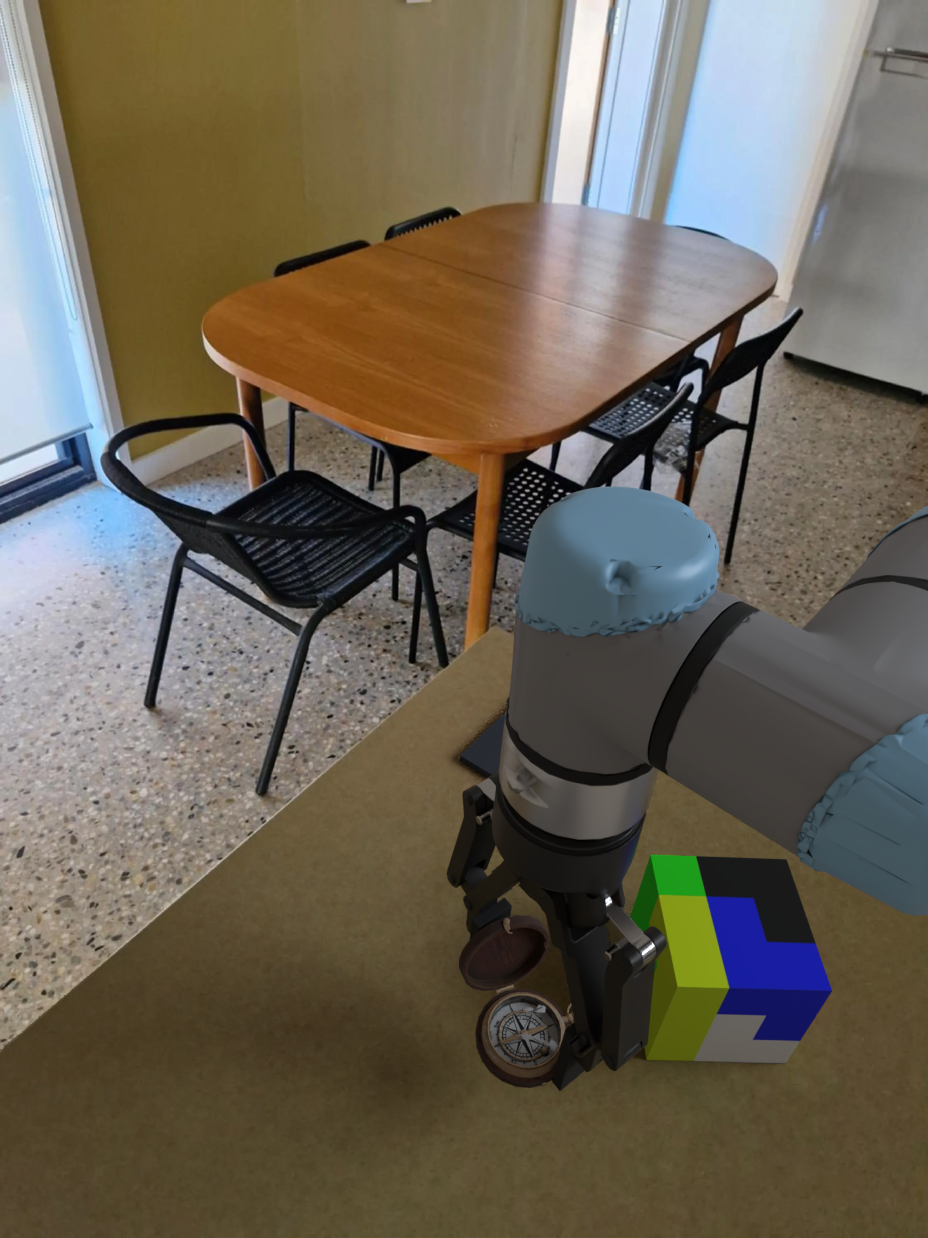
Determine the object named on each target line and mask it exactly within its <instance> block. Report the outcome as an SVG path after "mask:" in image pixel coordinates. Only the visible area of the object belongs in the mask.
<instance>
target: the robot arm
mask: <svg viewBox="0 0 928 1238" xmlns="http://www.w3.org/2000/svg"><path fill="white" fill-rule="evenodd" d="M524 560H525V561H524V565H523V570H522V574H521V580H520V586H519V589H518V590H517V591H516V593H515V597H514V604H513V607H514V612H515V618H514V634H513V646H512V647H513V648H512V662H511V672H510V683H509V692H508V693H509V694H508V697H507V699H506V710H505V712H506V713H505V712H504V713H505V722H504V730H503V738H502V747H501V755H500V764H499V773H495V774H493V775H491V776H490V777H488V778H487V777H485V778H484V779H483V780H481V781H479V782H478V783H476V784H474V785H472V786H470V787H468V788H466V789H465V790H463V791H462V794H461V795H462V810H463V817H462V821H461V824H460V828H459V831H458V833H457V834H458V835H457V837H456V840H455V843H454V847H453V850H452V853H451V856H450V860H449V863H448V867H447V870H446V878H447V881H448V883H449V884H450V885H451V886H452V887H453V888H454V889H458V888H459V887H460V888H461V889H462V890H463V893H464V896H463V898H462V901H463V904H464V907H465V908H466V910H467V911H466V921H465V927H466V930H467V932H468V933H469V940H470V939H471V938H472V937H473V936H474V935H475V934H477V933H478V932H479V931H480V930H481V929H483V928H484V927H486V926H488V925H489V924H491V923H493V922H495V921H498V920H500V919H503V918H506V917H511V916H512V909H513V905H512V904H511V903H510V902H509V900H508V899H507V898H506V897H503V898H501V897H502V896H503V895H505V894H506V893H508V892H510V891H512V890H513V888H514V887H516V886H517V885H518V887H520V889H521V890H522V891H523V892H524V893H525V894H526V895H527V897H529V898H530V899H531V900H532V901H534V902H535V903H536V904H537V905H538V906H539V908H540V910H541V911H542V912H543V913H544V915H545V918H546V923H547V928H548V934H549V938H550V942H551V943H550V944H551V945H552V946H553V947H554V948H555V949H556V950H558V951H559V952H560V955H561V960H562V964H563V970H564V974H565V980H566V984H567V989H568V995H569V1000H570V1003H571V1010H572V1012H573V1016H574V1021H573V1022H574V1023H573V1024H571V1023H570V1026H569V1027H567V1028H566V1029H565V1032H564V1036H563V1040H562V1043H561V1047H560V1051H559V1055H558V1059H557V1063H556V1067H555V1071H554V1075H553V1078H552V1081H551V1083H552V1084H553V1085H554V1086H555V1087H556V1088H557V1090H558V1091H559V1092H561V1091H563V1089H565V1088H566V1087H568V1086H569V1085H570V1084H571V1083H572V1082H573V1081H575V1080H576V1079H577V1078H578V1077H580V1075H582V1074H583V1073H584V1072H585V1073H588V1072H591V1071H593V1069H595V1068H596V1067H597V1066H599V1064H600V1063H602V1062H604V1064H605V1065H606V1066H607V1068H609V1070H611V1071H612V1072H617V1071H618V1070H620V1069H621V1068H622V1067H623V1066H624V1065H625V1064H626V1063H627V1062H629V1061H630V1060H631V1059H632V1058H634V1057H635V1056H636V1055H637V1054H638V1053H639V1052H641V1051H642V1050H644V1049H645V1048H644V1047H645V1046H646V1045H647V1044H648V1035H649V1024H650V1013H651V1002H652V991H653V980H654V969H655V960H656V959H657V958H658V956H659V955H660V954H661V953H662V951H663V950H664V949H665V947H666V945H667V943H666V939H665V937H664V935H663V934H662V932H661V931H660V930H659V929H658V928H656V927H654V926H651V927H649V928H648V929H646V930H645V931H644V932H643V931H642V930H641V929H640V928H639V927H638V926H637V925H636V924H635V923H634V921H633V920H632V919H631V918H630V915H629V914H628V912H627V911H626V910H625V906H626V896H625V892H624V888H623V887H624V886H623V882H624V879H625V877H626V875H627V873H628V871H629V869H630V867H631V865H632V863H633V860H634V858H635V855H636V852H637V848H638V844H639V841H640V838H641V834H642V831H643V827H644V823H645V820H646V817H647V812H648V809H649V807H650V804H651V800H652V797H653V795H654V790H655V786H656V782H657V779H658V775H659V772H661V773H663V774H665V775H666V776H668V777H669V778H671V779H672V780H673V781H676V782H677V783H679V784H680V785H682V786H684V787H686V788H687V789H689V790H691V792H693V793H694V794H696V795H698V796H699V797H701V798H703V799H705V800H706V801H708V802H709V803H712V804H713V805H714V806H716V807H718V808H719V809H721V810H722V811H724V812H726V814H729V815H730V816H732V817H733V818H734V819H737V820H738V821H739V822H742V823H743V824H745V825H746V826H748V827H750V828H751V829H753V830H754V831H756V832H757V833H759V834H761V835H762V836H764V837H766V838H767V839H769V840H770V841H772V842H774V843H775V844H776V845H778V846H780V847H781V848H783V849H785V850H786V851H788V852H790V853H791V854H793V855H794V856H796V857H797V858H799V861H800V862H801V863H803V864H804V865H806V866H807V867H809V868H811V869H812V870H814V871H815V872H821V873H827V874H828V875H831V876H832V877H834V878H836V879H838V880H839V881H841V882H844V883H846V884H847V885H849V886H850V887H853V888H855V889H856V890H858V891H860V892H862V893H864V894H866V895H868V896H870V897H872V898H873V899H876V900H877V901H879V902H880V903H883V904H885V905H886V906H888V907H890V908H891V909H894V910H895V911H897V912H899V913H902V914H905V915H909V916H914V917H918V916H919V917H921V916H926V915H927V916H928V505H925V506H924V507H922V508H921V509H919V510H917V511H916V512H915V513H913V514H912V515H911V516H910V517H909V518H907V519H906V520H905V521H901V522H900V523H899V524H897V525H895V526H894V527H893V528H892V529H890V530H889V531H888V532H887V533H886V534H885V535H884V536H882V538H881V539H879V541H878V542H877V543H876V545H874V547H873V549H872V550H871V551H870V552H869V553H868V554H867V556H866V558H865V560H864V562H863V563H862V564H861V565H860V566H859V567H858V568H857V569H856V571H855V572H853V574H852V575H851V576H850V577H849V579H847V580H846V582H844V584H843V585H842V586H841V587H840V588H839V589H838V591H837V592H836V593H835V594H834V595H832V597H830V599H828V600H827V602H826V603H825V604H824V605H823V606H822V607H821V608H820V609H819V610H818V611H817V612H816V614H814V615H813V617H812V618H810V620H809V621H808V622H807V623H806V624H805V625H804V626H803V627H802V628H801V627H798V626H796V625H794V624H791V623H790V622H787V621H786V620H783V619H781V618H779V617H777V616H775V615H773V614H770V613H769V612H766V611H764V610H762V609H760V608H758V607H755V606H753V605H751V604H748V603H746V602H745V601H744V600H742V599H740V598H738V597H736V596H734V595H732V594H729V593H727V592H724V591H722V590H720V588H717V586H718V583H719V582H718V580H719V578H720V572H719V571H718V569H719V568H718V566H719V560H720V545H719V542H718V539H717V536H716V534H715V532H714V530H713V528H712V527H711V526H710V525H709V524H708V523H707V522H706V521H704V520H702V519H699V518H697V517H696V515H695V513H694V510H693V509H692V508H690V507H689V506H688V505H687V504H685V503H683V502H681V501H679V500H677V499H675V498H672V497H670V496H667V495H665V494H662V493H659V492H655V491H651V490H647V489H643V488H636V487H630V486H629V487H628V486H599V487H591V488H585V489H581V490H577V491H575V492H572V493H569V494H567V495H566V496H564V497H563V498H561V499H560V500H558V501H557V502H553V503H552V504H550V505H549V506H548V507H547V508H545V509H544V510H543V511H542V512H541V513H540V514H539V516H538V517H537V519H536V520H535V522H534V524H533V526H532V528H531V531H530V534H529V539H528V544H527V550H526V555H525V559H524ZM495 849H497V851H498V854H499V855H500V856H501V858H502V859H503V861H502V862H500V864H498V865H497V866H496V867H494V869H492V870H491V873H490V874H489V875H487V874H486V870H487V869H488V867H489V864H490V862H491V859H492V856H493V854H494V851H495ZM499 898H501V899H499ZM498 899H499V900H498ZM469 940H468V941H469Z"/></svg>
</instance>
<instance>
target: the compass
mask: <svg viewBox="0 0 928 1238" xmlns="http://www.w3.org/2000/svg"><path fill="white" fill-rule="evenodd" d="M469 939H470V938H469ZM549 942H551V938H550V934H549V931H547V928H546V927H545V925H544V923H543V922H541V920H539V919H538V918H537V917H535V916H531V915H527V914H516V915H511V916H510V917H506V918H503V919H500V920H498V921H495V922H493V923H491V924H489V925H488V926H486V927H484V928H483V929H481V930H480V931H479V932H478V933H477V934H475V935H474V936H473V937H472V938H471V939H470V940H468V941H467V942H466V944H465V945H464V946H463V948H462V950H461V952H460V955H459V958H458V969H459V972H460V973H461V977H462V978H463V980H464V982H465V984H466V985H467V986H469V988H471V989H473V990H477V991H482V992H484V991H485V992H487V991H495V993H496V994H495V995H494V996H493V997H492V998H491V999H490V1000H488V1001H487V1003H485V1004H484V1005H483V1008H482V1010H481V1011H480V1013H479V1015H478V1018H477V1022H476V1026H475V1033H474V1035H475V1046H476V1050H477V1053H478V1055H479V1058H480V1060H481V1063H483V1065H484V1067H486V1069H487V1070H488V1071H489V1073H490V1074H491V1075H493V1076H494V1077H496V1078H497V1079H498V1080H499V1081H501V1082H502V1083H505V1084H507V1085H510V1086H512V1087H515V1088H523V1089H524V1088H525V1089H532V1088H537V1087H546V1086H547V1085H548V1083H550V1082H552V1078H553V1075H554V1071H555V1067H556V1063H557V1059H558V1055H559V1051H560V1047H561V1043H562V1040H563V1036H564V1032H565V1029H566V1028H567V1027H569V1026H570V1025H571V1024H573V1023H574V1022H575V1021H574V1016H573V1011H572V1012H570V1009H571V1008H572V1006H571V1002H569V1004H568V1006H567V1007H566V1012H564V1011H563V1009H562V1008H561V1007H560V1006H559V1005H558V1004H557V1003H556V1002H555V1000H552V999H551V998H550V997H549V996H547V995H545V994H544V993H541V992H538V991H536V990H534V989H530V988H529V989H527V988H519V987H518V988H515V986H514V984H517V983H519V982H520V981H522V980H524V979H525V978H527V977H528V976H530V975H531V973H533V972H535V970H536V969H537V968H538V967H539V966H540V965H541V963H542V962H543V961H544V960H545V958H546V957H547V954H548V952H549V950H550V944H549ZM569 1012H570V1013H569ZM565 1013H566V1014H565Z"/></svg>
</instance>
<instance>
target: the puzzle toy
mask: <svg viewBox="0 0 928 1238" xmlns="http://www.w3.org/2000/svg"><path fill="white" fill-rule="evenodd" d="M801 899H802V898H801V897H800V894H799V891H798V888H797V885H796V882H795V878H794V877H793V874H792V870H791V868H790V865H789V862H788V859H787V858H764V857H763V858H762V857H735V856H734V857H733V856H731V857H730V856H705V855H675V854H650V855H649V857H648V861H647V864H646V868H645V870H644V873H643V875H642V879H641V882H640V885H639V888H638V891H637V894H636V897H635V901H634V904H633V906H632V910H631V913H630V915H629V917H630V918H631V919H632V920H633V921H634V923H635V924H636V925H637V926H638V927H639V928H640V929H641V930H642V931H643V932H644V931H645V930H646V929H648V928H649V927H651V926H654V927H656V928H658V929H659V930H660V931H661V932H662V934H663V935H664V937H665V939H666V943H667V945H666V947H665V949H664V950H663V951H662V953H661V954H660V955H659V956H658V958H657V959H656V960H655V969H654V980H653V991H652V1002H651V1013H650V1024H649V1035H648V1044H647V1045H646V1046H645V1047H644V1048H643V1049H644V1054H645V1060H646V1061H662V1062H663V1061H670V1062H710V1063H711V1062H712V1063H714V1062H715V1063H751V1064H753V1063H754V1064H787V1062H788V1061H789V1059H790V1058H791V1056H792V1055H793V1053H794V1052H795V1050H796V1049H797V1047H798V1046H799V1044H800V1042H801V1040H802V1039H803V1038H804V1036H805V1035H806V1032H807V1031H808V1030H809V1028H810V1027H811V1025H812V1024H813V1022H814V1021H815V1019H816V1018H817V1015H818V1014H819V1012H820V1011H821V1009H822V1008H823V1007H824V1005H825V1003H826V1002H827V1000H828V998H829V997H830V995H831V994H832V992H833V989H832V986H831V983H830V981H829V980H830V979H829V977H828V975H827V971H826V969H825V966H824V963H823V960H822V957H821V954H820V951H819V949H818V946H817V943H816V940H815V937H814V934H813V931H812V928H811V926H810V923H809V920H808V917H807V914H806V911H805V908H804V906H803V902H802V900H801Z"/></svg>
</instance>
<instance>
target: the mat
mask: <svg viewBox="0 0 928 1238" xmlns="http://www.w3.org/2000/svg"><path fill="white" fill-rule="evenodd" d="M505 713H506V711H505V712H504V713H503V714H501V716H499V717H498V718H497V719H496V720H495V721H494V722H493V723H492V724H491V725H490V726H489V727H488V728H487V729H486V730H485V731H483V732H482V734H481V735H479V736H478V737H477V739H475V740H474V741H473V742H472V743H471V744H470V745H469V746H468V747H467V748H466V749H465V750H464V751H463V752H462V753H461V754H460V755H459V762H460V763H461V764H463V765H465V766H467V767H468V768H470V769H472V770H474V771H475V772H477V773H478V774H480V775H482V776H483V777H485V778H488V777H490V776H491V775H493V774H495V773H499V764H500V755H501V747H502V738H503V730H504V722H505Z"/></svg>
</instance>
